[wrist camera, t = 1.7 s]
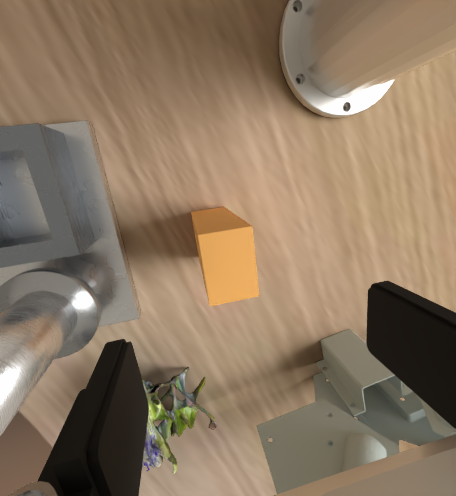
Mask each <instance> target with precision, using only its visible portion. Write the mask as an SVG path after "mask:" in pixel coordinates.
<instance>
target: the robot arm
mask: <svg viewBox="0 0 456 496" xmlns="http://www.w3.org/2000/svg"><path fill="white" fill-rule="evenodd" d="M454 51H456V0H289V1H288V4H287V6H286V8H285V11H284V14H283V18H282V22H281V26H280V35H279V54H280V61H281V66H282V70H283V73H284V76H285V78H286V81H287V84H288V86H289V87H290V89H291V90H292V92H293V94H294V95H295V97H296V98H297V99H298V100H299V101H300V102H301V103H302V104H303V105H304V106H305V107H307V108H308V109H309V110H311V111H312V112H314V113H316V114H319V115H321V116H324V117H330V118H344V117H348V116H351V115H355V114H357V113H359V112H362V111H364V110H366V109H368V108H369V107H371V106H372V105H374V104H375V103H376V102H377V101H378V100H379V99H380V98H381V97H382V96H383V95H384V94H385V93H386V92H387V90H388V89H389V88H390V86H391V85H392V83H393V81H394V80H395V78H397V77H399V76H402V75H404V74H406V73H408V72H410V71H412V70H415V69H417V68H419V67H421V66H423V65H426V64H428V63H430V62H432V61H434V60H436V59H439V58H441V57H443V56H445V55H447V54H449V53H452V52H454ZM296 80H298V83H297V82H296ZM367 348H368V350H369V352H370V353H371V354H372V355H373V356H374V357H375V358H376V359H377V360H378V361H380V362H381V363H382V364H383V365H384V366H385V367H386V368H387V369H388V370H390V371H391V372H392V373H393V374H394V375H395V376H396V377H397V378H399V379H400V380H401V381H402V382H403V383H404V384H405V385H406V386H407V387H409V388H410V389H411V390H412V391H413V392H414V393H415V394H416V395H418V396H419V397H420V398H421V399H422V400H423V401H424V402H425V403H426V404H428V405H429V406H430V407H431V408H432V409H433V410H434V411H435V412H436V413H438V414H439V415H440V416H441V417H442V418H443V419H444V420H445V421H447V422H448V423H449V424H450V425H451V426H452V427H454V428H455V429H456V313H455V312H453V311H451V310H449V309H447V308H444V307H442V306H440V305H438V304H436V303H434V302H432V301H430V300H428V299H425V298H423V297H421V296H419V295H417V294H415V293H413V292H411V291H409V290H407V289H404V288H402V287H400V286H398V285H396V284H394V283H392V282H389V281H383V282H379V283H374V284H372V285H371V288H370V289H369V290H368V309H367ZM148 415H149V405H148V399H147V396H146V392H145V389H144V385H143V382H142V378H141V374H140V371H139V367H138V364H137V360H136V356H135V353H134V349H133V346H132V343H131V342H127V343H126V341H125V339H121V340H116V341H112V342H108V343H106V344H105V346H104V349H103V351H102V353H101V356H100V358H99V360H98V362H97V365H96V367H95V369H94V371H93V374H92V376H91V378H90V380H89V383H88V385H87V387H86V389H83V390H82V391H80V393H79V394H78V396H77V398H76V400H75V402H74V404H73V406H72V409H71V411H70V413H69V415H68V417H67V419H66V421H65V424H64V426H63V428H62V430H61V432H60V434H59V436H58V439H57V441H56V443H55V445H54V447H53V449H52V451H51V454H50V456H49V458H48V460H47V462H46V464H45V467H44V468H43V471H42V473H41V475H40V477H39V479H38V481H37V482H34V483H30V484H28V485H25V486H24V487H21V488H19V489H17V490H16V491H14V492H13V493H11V494H10V495H8V496H138V494H139V486H140V478H141V471H142V463H143V455H144V447H145V439H146V431H147V423H148ZM274 496H456V434H454V435H451V436H448V437H445V438H442V439H439V440H436V441H433V442H430V443H427V444H424V445H421V446H418V447H415V448H412V449H409V450H406V451H403V452H400V453H397V454H394V455H391V456H388V457H385V458H383V459H380V460H377V461H374V462H371V463H368V464H365V465H362V466H359V467H356V468H353V469H350V470H347V471H344V472H341V473H338V474H335V475H332V476H329V477H326V478H323V479H321V480H318V481H315V482H312V483H309V484H306V485H303V486H300V487H297V488H294V489H291V490H289V491H286V492H283V493H280V494H277V495H274Z"/></svg>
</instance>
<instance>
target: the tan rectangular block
mask: <svg viewBox="0 0 456 496" xmlns="http://www.w3.org/2000/svg"><path fill="white" fill-rule="evenodd" d="M191 216H192V222H193V227H194V233H195V239H196V245H197V251H198V256H199V261H200V265H201V270H202V274H203V279H204V283H205V287H206V292H207V296H208V300H209V305H210V306H214V305H218V304H223V303H228V302H233V301H238V300H243V299H247V298H252V297H257V296H259V287H258V277H257V268H256V258H255V248H254V238H253V229H252V226H251V225H250V224H248V223H247V222H246V221H244V220H243V219H241V218H240V217H238V216H237V215H235V214H234V213H232V212H231V211H229V210H228V209H226V208H225V207H219V208H213V209H207V210H200V211H194V212H191Z"/></svg>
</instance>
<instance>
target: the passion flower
mask: <svg viewBox="0 0 456 496" xmlns="http://www.w3.org/2000/svg"><path fill="white" fill-rule="evenodd" d="M188 369H189V367H188V368H187V369H185V370H184V371H183V373H181V374H180V375H178V376H174V377H173V378H172V379H171V381H169V382H166V383H163V384H161V383H160V384H156V385H152V383H151V382H150V381H148V382H145V381H144V379H142V382H143V385H144V389H145V392H146V396H147V399H148V405H149V415H148V423H147V431H146V439H145V447H144V455H143V463H142V466H143V467H145V466H147V468H148V470H150V469H149V465H150V466H152V467H155V466H156V467H157V468H158V467H159V466H160V465H161V464H162V462H163V457H164V458H166V459H167V460H168V461H170V462H172V465H173V468H174V470H173V474H174V473H175V472H176V471H177V461H176V458H175V457H174V455H173V454H172V452H171V451H170V448H169V445H168V438H169V433H170V429H171V436H174V434H175V433H177V435H178V437H179V436H180V435H181V434H182V432H183V431H184V429H185V428H186V427H187V426H188V427H189V428H192V427H193V425H194V421H195V416H196V412H198V408H199V409H200V410H201V411H202V412H204V413H205V414H206V415H207V416H208V417H209V418H210V420H211V421H210V424H209V428H211V429H213V430H214V429H215V428H216V422H215V419H214V417H212V416H211V415H210V414H209V413H208V412H207V411H206V410H205V409H203V408H202V407H201V406H199V405H198V404H197V403H196V398H197V396H198V393H199V392H200V391H201V389H202V387H203V386H204V384H205V377H204V378H203V379H202V381H201V382H200V384H199V386H198V387H197V388H196V389H195V391H194V392H192V393H191V394H188V393H186V392H185V387H184V386H185V376H186V372H187V370H188ZM169 384H170V389H169V390H168V391H167V393H166V394H165V395H164V396H163V397H162V399H161V400H159V399H158V396H157V395H158V389H159V388H161V387H165V386H167V385H169ZM176 388H178V389H179V391H181V392H182V394H183V395H184V396H185V400H184V401H178V400H177V399H176V397H175V390H176ZM167 396H172V398H173V403H172V408H171V410H170V411H168V410H166V409H165V408H164V406H163V405H162V404H161V402H162V401H163V400H164V399H165V398H166V397H167ZM192 404H195V405H196V406H197V407H198V408H197V407H195V406H193V405H192ZM157 419H159V420H163V419H164V420H163V421H162V422H161V423H160V425H159V426H158V427H157V426H155V425H154V424H153V422H154V420H155V421H156V420H157ZM154 464H155V465H154ZM148 470H147V471H148Z"/></svg>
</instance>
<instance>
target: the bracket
mask: <svg viewBox="0 0 456 496" xmlns="http://www.w3.org/2000/svg"><path fill="white" fill-rule="evenodd" d="M321 347H322V352H323V357H324V359H323V360H321V361H318V362H316V364H317V365H318V367H319V368H320V370H321V371H322V372H321V373H319V374H316V375H314V376H313V377H314V387H315V398H316V402H314V403H312V404H309V405H307V406H304V407H302V408H299V409H297V410H294V411H292V412H289V413H287V414H284V415H282V416H280V417H277V418H275V419H272V420H270V421H267V422H265V423H262V424H260V425H257V429H258V432H259V436H260V439H261V442H262V446H263V449H264V452H265V455H266V459H267V462H268V465H269V468H270V472H271V475H272V478H273V482H274V485H275V488H276V491H277V494H280V493H283V492H286V491H289V490H291V489H294V488H297V487H300V486H303V485H306V484H309V483H312V482H315V481H318V480H321V479H323V478H326V477H329V476H332V475H335V474H338V473H341V472H344V471H347V470H350V469H353V468H356V467H359V466H362V465H365V464H368V463H371V462H374V461H377V460H380V459H383V458H385V457H388V456H391V455H394V454H397V453H399V440H403V441H406V442H409V443H412V444H415V445H418V446H421V445H424V444H427V443H430V442H433V441H436V440H439V439H442V438H445V437H448V436H451V435H454V434H456V429H455V428H454V427H452V426H451V425H450V424H449V423H448V422H447V421H445V420H444V419H443V418H442V417H441V416H440V415H439V414H438V413H436V412H435V411H434V410H433V409H432V408H431V407H430V406H429V405H428V404H426V403H425V402H424V401H423V400H422V399H421V398H420V397H419V396H418V395H416V394H415V393H414V392H413V391H412V390H411V389H410V388H409V387H407V386H406V385H405V384H404V383H403V382H402V381H401V380H400V379H399V378H397V377H396V376H395V375H394V374H393V373H392V372H391V371H390V370H388V369H387V368H386V367H385V366H384V365H383V364H382V363H381V362H380V361H378V360H377V359H376V358H375V357H374V356H373V355H372V354H371V353H370V352H369V350H368V348H367V343H366V342H365V341H364V340H362V339H361V338H360V337H359V336H358V335H357V334H356V333H355V332H354V331H352V330H351V329H348V330H345V331H342V332H340V333H337V334H335V335H332V336H329V337H327V338H324V339H322V340H321ZM323 368H327V370H323ZM326 379H328V381H329V382H326V381H325V380H326ZM401 397H402V398H404V399H405V401H402V400H400V398H401ZM354 417H357V418H358V420H357V419H355V418H354ZM269 438H272V439H273V441H272V442H268V439H269Z"/></svg>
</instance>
